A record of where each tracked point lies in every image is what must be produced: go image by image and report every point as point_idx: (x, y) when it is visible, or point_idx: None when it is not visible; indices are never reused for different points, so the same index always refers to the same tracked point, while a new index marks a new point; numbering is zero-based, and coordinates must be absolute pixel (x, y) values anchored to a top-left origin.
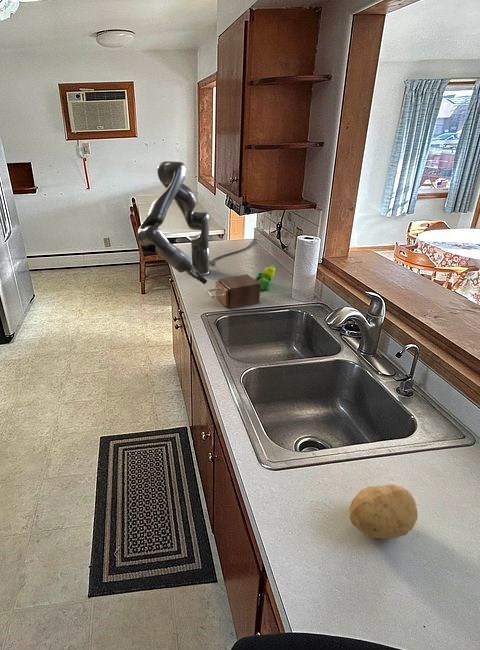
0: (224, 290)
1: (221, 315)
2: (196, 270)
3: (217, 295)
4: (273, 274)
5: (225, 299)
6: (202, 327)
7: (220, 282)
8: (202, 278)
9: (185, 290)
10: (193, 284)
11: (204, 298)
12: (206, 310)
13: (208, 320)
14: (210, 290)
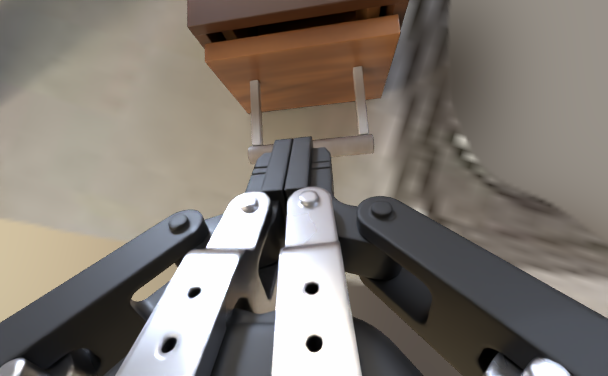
0: (372, 42)
1: (450, 145)
2: (355, 335)
3: (362, 109)
4: None
5: (382, 76)
6: (571, 288)
7: (213, 34)
8: (332, 191)
9: (99, 236)
10: (50, 174)
11: (226, 169)
12: None
13: (491, 229)
14: (260, 130)
